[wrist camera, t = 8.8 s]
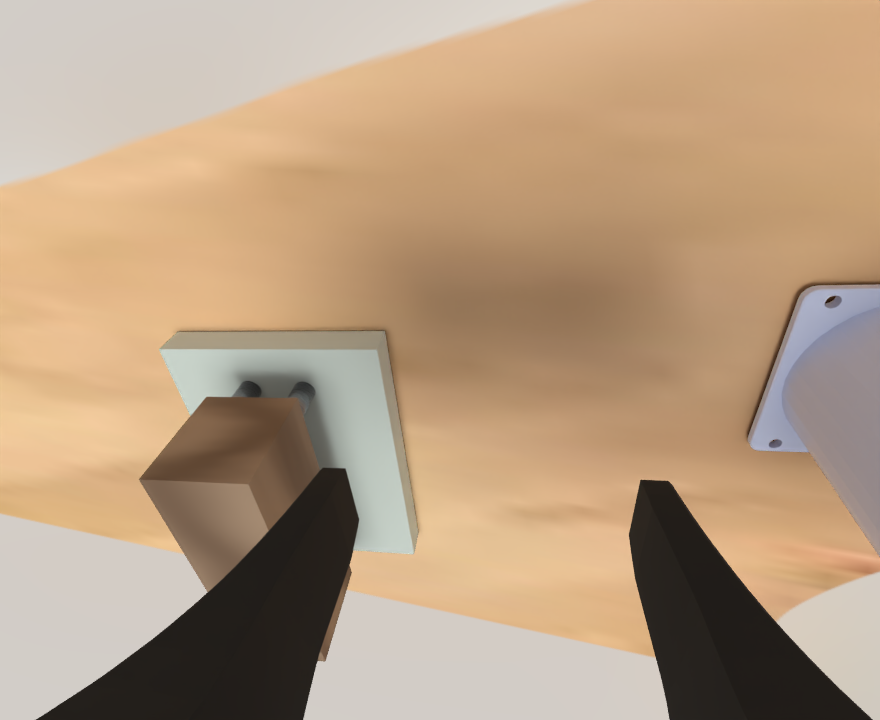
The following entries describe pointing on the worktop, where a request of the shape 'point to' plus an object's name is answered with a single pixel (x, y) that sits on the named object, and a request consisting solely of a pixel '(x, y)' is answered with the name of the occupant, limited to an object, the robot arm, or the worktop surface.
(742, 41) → the worktop surface
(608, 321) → the worktop surface
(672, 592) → the robot arm
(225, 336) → the peg stand
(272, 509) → the walnut plank
